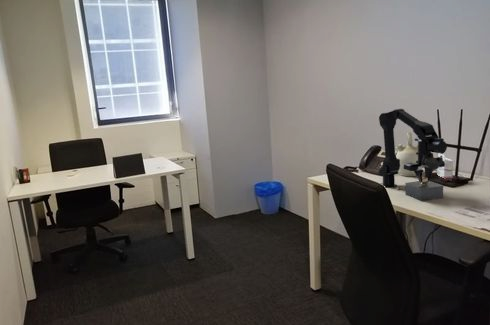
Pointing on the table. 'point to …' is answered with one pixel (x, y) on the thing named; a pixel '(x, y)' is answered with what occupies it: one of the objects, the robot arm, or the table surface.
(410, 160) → the jug
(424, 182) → the plunger
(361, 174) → the table surface
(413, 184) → the block
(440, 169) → the ink cartridge box
